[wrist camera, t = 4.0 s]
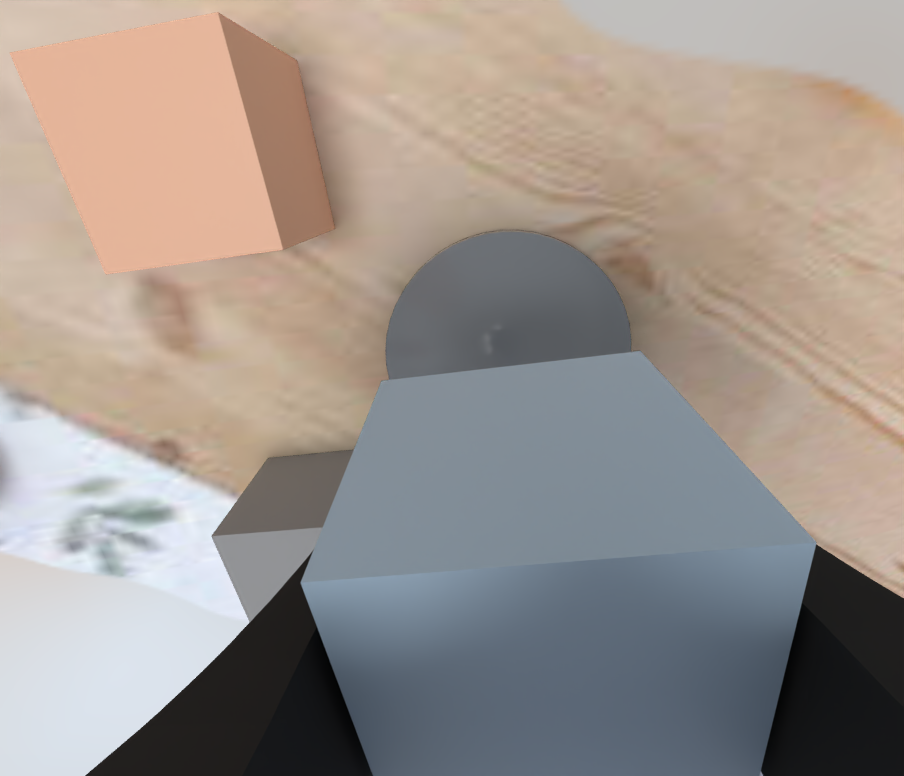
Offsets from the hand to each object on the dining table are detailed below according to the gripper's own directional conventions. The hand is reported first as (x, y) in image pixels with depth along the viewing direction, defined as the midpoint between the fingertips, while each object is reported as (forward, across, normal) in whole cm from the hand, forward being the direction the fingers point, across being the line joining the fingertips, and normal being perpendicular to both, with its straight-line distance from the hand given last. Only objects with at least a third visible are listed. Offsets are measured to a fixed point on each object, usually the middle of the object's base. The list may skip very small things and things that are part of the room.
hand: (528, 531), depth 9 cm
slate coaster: (+10, 0, 0) cm, 10 cm away
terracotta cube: (+11, +8, -7) cm, 15 cm away
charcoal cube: (+10, +8, +7) cm, 15 cm away
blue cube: (+2, 0, 0) cm, 2 cm away
